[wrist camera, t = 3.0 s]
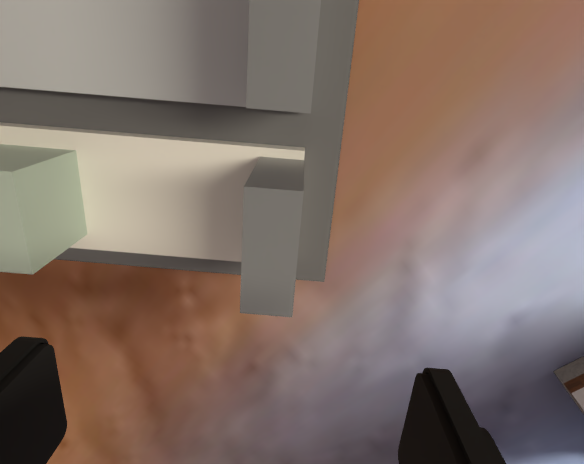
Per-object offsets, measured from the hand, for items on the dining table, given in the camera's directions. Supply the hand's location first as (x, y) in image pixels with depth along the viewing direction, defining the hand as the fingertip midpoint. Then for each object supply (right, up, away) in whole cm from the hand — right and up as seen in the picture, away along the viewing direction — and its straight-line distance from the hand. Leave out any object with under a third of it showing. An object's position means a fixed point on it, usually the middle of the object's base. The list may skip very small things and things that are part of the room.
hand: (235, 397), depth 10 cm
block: (-13, +7, +12) cm, 19 cm away
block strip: (-8, +7, +13) cm, 17 cm away
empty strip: (-7, +15, +10) cm, 19 cm away
